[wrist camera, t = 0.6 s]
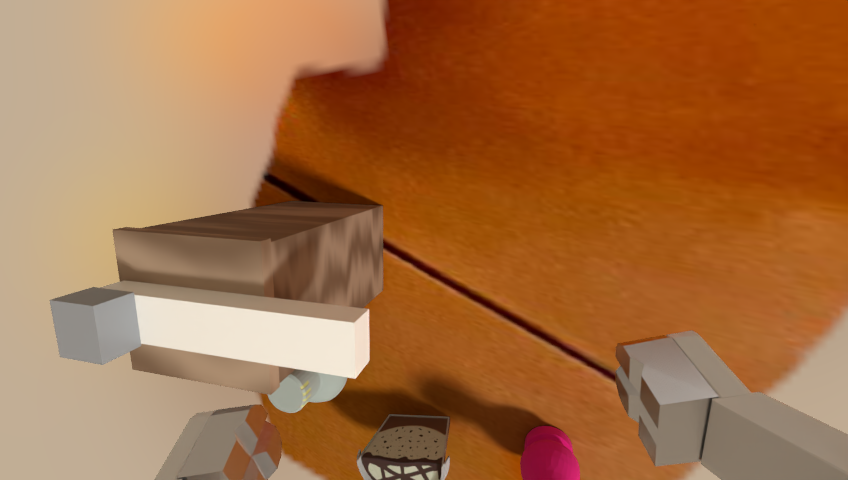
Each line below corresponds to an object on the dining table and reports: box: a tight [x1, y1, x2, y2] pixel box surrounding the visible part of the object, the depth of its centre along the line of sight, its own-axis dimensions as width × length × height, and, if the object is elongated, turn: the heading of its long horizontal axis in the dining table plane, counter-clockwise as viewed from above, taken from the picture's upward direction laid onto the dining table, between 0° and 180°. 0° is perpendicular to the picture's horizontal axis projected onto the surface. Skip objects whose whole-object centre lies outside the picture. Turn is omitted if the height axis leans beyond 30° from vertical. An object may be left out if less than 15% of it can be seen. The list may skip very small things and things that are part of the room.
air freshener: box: [268, 369, 347, 413], centre depth 57 cm, size 11×8×10 cm
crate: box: [113, 201, 383, 395], centre depth 45 cm, size 13×14×26 cm
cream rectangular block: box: [50, 280, 370, 379], centre depth 29 cm, size 4×22×6 cm, turn 89°
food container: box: [357, 414, 450, 480], centre depth 55 cm, size 12×6×10 cm, turn 97°
